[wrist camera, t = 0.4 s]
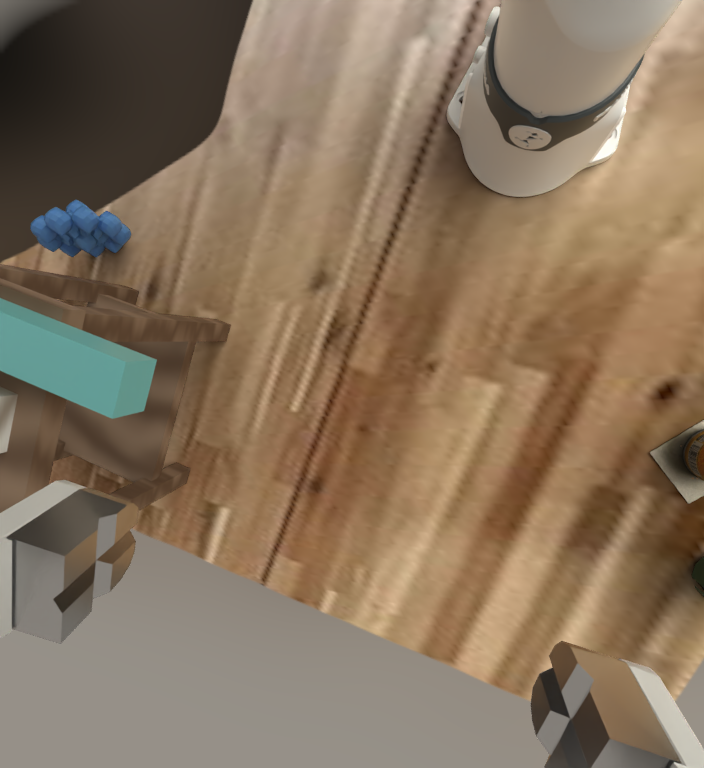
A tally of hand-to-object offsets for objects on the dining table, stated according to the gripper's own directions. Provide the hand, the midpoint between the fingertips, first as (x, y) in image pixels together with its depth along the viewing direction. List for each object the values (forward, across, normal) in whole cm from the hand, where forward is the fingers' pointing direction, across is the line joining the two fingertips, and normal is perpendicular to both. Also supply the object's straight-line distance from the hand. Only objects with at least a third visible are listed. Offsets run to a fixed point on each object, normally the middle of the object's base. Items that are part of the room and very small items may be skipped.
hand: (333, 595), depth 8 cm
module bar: (+21, +28, +6) cm, 36 cm away
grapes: (+50, +42, 0) cm, 65 cm away
